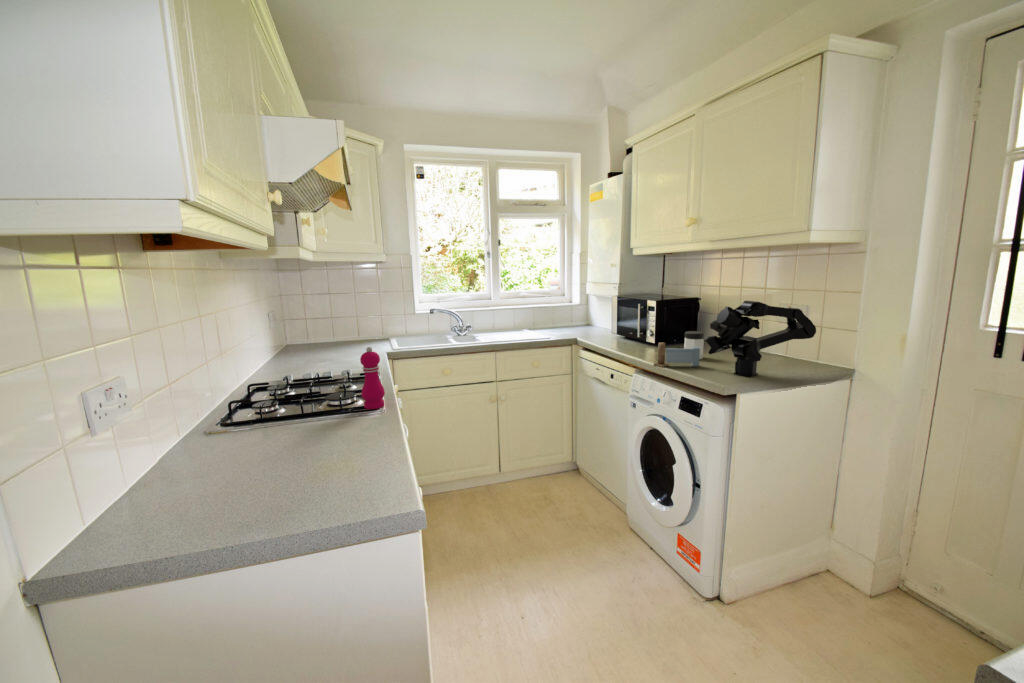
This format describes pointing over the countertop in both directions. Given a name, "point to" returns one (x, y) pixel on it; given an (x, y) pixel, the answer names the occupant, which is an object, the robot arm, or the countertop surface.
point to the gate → (683, 355)
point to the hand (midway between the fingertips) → (709, 353)
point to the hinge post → (661, 355)
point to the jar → (694, 341)
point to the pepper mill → (372, 380)
